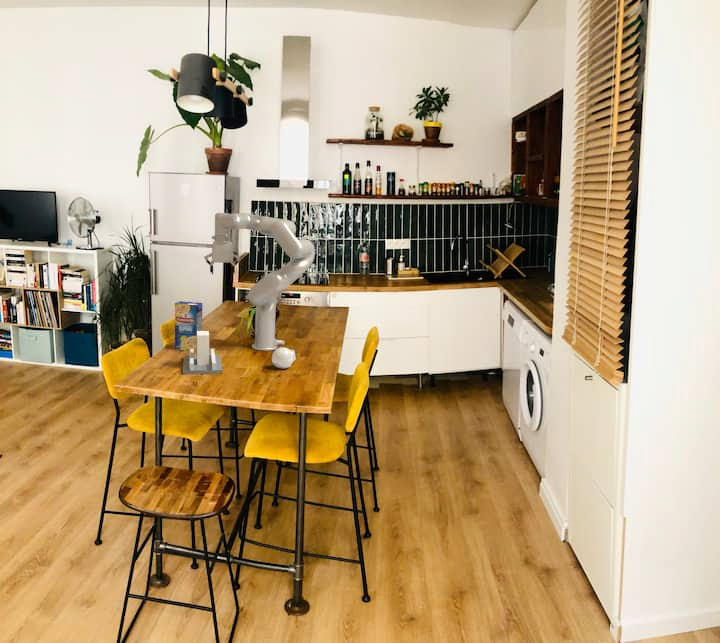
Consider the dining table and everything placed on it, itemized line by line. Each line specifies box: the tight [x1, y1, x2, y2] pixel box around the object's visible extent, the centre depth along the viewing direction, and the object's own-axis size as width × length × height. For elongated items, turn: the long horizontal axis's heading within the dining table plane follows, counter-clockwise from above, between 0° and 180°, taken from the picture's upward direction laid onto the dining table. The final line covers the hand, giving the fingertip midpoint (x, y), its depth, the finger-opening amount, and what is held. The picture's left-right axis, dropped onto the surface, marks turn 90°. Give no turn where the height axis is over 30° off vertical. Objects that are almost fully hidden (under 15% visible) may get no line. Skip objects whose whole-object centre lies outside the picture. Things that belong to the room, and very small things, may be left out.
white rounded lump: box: [271, 346, 298, 370], centre depth 312 cm, size 9×10×15 cm
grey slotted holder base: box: [182, 348, 224, 375], centre depth 308 cm, size 16×26×4 cm, turn 13°
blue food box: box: [174, 300, 203, 352], centre depth 336 cm, size 7×11×22 cm, turn 80°
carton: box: [195, 330, 210, 365], centre depth 307 cm, size 5×9×13 cm, turn 14°
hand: (222, 274), depth 346 cm, fingers open, 9 cm apart
